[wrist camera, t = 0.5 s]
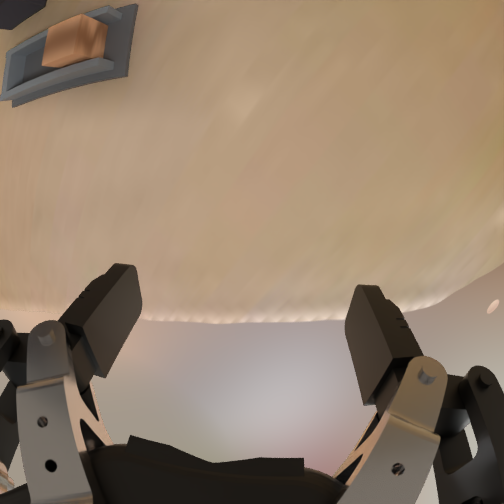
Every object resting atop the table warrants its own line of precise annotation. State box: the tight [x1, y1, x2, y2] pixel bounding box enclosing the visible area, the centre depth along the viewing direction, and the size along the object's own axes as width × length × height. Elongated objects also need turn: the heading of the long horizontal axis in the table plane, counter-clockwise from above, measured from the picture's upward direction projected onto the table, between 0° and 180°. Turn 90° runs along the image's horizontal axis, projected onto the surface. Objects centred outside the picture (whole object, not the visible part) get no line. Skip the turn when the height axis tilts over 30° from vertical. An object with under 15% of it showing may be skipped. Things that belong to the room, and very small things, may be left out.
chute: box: [0, 4, 138, 108], centre depth 24 cm, size 12×26×5 cm, turn 86°
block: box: [42, 14, 108, 68], centre depth 22 cm, size 6×6×7 cm
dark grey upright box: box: [0, 0, 46, 30], centre depth 13 cm, size 11×4×15 cm, turn 90°
